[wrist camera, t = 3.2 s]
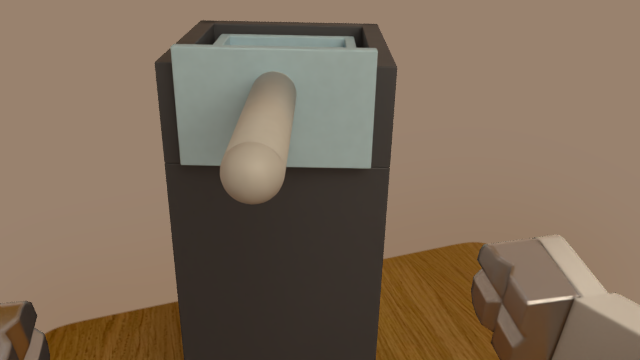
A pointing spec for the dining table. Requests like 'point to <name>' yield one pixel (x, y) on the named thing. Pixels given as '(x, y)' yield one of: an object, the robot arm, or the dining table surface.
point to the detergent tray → (315, 108)
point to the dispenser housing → (280, 234)
